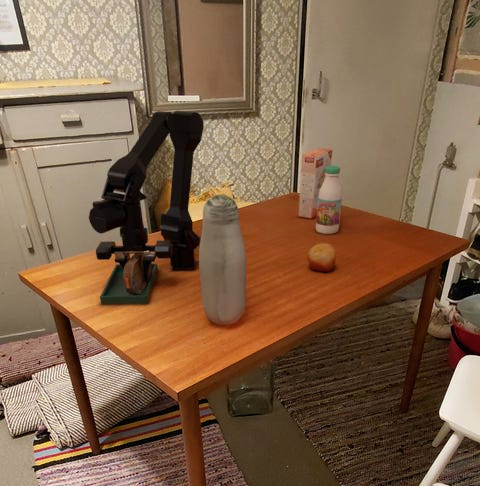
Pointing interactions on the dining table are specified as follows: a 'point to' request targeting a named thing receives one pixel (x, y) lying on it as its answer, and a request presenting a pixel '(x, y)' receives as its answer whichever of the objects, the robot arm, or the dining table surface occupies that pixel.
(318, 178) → the cracker box
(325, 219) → the milk bottle
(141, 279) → the tin
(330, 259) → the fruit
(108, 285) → the tray
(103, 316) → the dining table surface
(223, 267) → the glass bottle
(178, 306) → the dining table surface
